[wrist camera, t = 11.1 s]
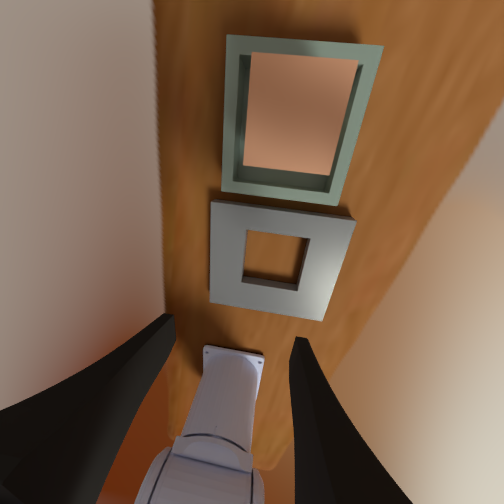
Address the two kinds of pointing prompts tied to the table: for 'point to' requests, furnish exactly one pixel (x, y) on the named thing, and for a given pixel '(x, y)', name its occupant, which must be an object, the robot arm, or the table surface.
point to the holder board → (267, 291)
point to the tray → (235, 118)
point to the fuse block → (296, 111)
